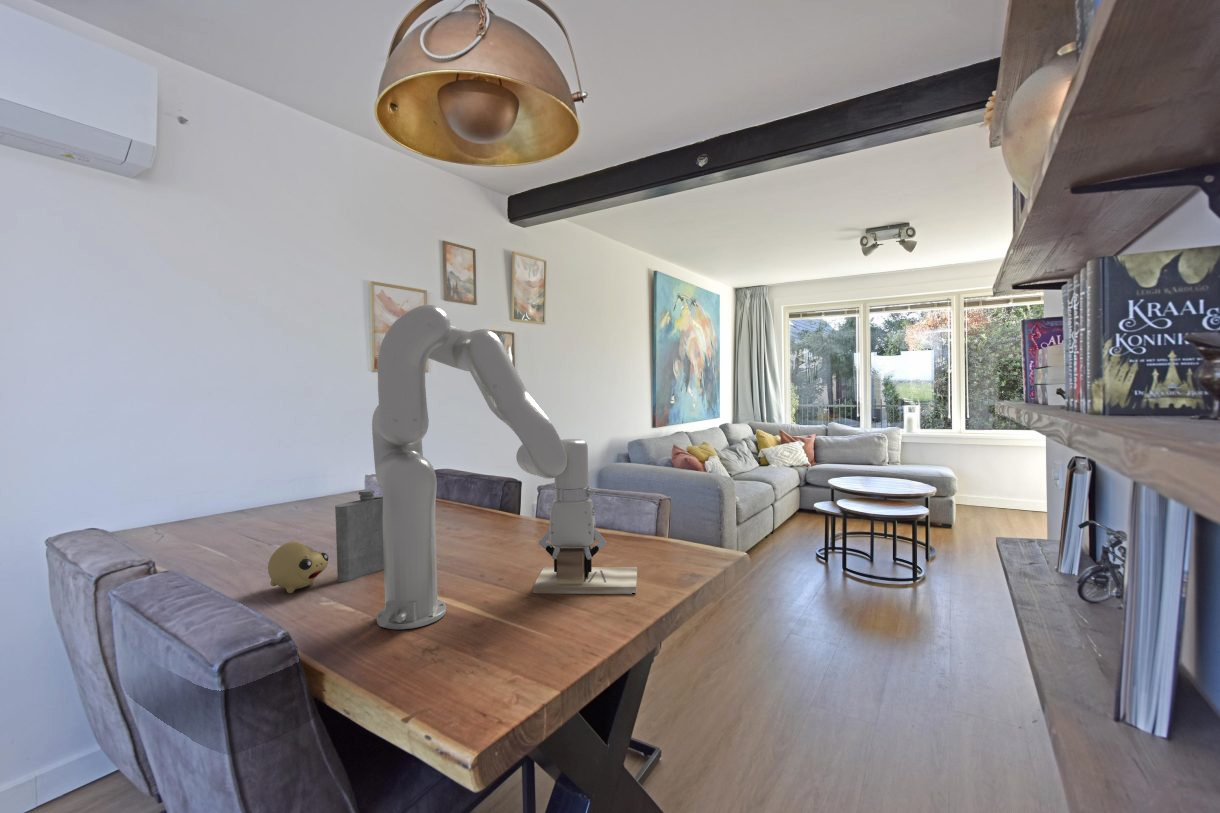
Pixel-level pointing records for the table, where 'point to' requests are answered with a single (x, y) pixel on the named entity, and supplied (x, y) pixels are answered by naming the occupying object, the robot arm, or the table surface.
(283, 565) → the yellow round soft figure
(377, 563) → the hip flask
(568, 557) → the block
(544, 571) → the birch board
